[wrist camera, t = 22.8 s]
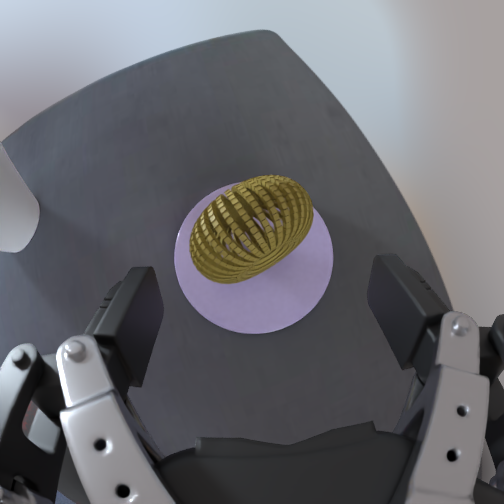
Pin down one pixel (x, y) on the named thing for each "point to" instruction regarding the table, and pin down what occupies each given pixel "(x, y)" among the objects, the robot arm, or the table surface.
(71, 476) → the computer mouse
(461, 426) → the robot arm
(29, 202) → the cup
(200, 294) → the saucer
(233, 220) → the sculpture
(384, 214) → the table surface
